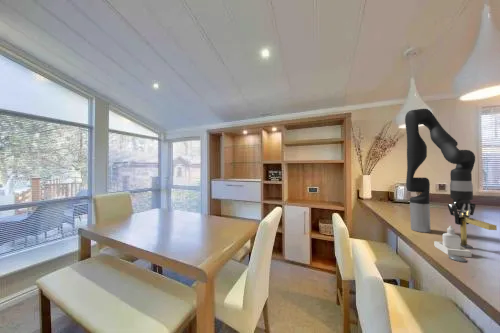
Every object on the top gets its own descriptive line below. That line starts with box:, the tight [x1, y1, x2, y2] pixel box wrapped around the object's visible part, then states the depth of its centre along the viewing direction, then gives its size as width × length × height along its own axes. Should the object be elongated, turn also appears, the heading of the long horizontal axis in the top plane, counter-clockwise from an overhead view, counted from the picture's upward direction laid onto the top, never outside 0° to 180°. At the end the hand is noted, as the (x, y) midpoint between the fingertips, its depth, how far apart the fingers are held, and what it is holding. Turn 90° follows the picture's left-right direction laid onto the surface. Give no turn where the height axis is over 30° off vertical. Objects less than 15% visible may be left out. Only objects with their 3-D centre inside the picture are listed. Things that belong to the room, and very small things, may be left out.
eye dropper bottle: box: [442, 225, 461, 250], centre depth 88 cm, size 4×6×12 cm
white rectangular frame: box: [433, 240, 472, 258], centre depth 87 cm, size 10×8×2 cm
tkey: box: [459, 215, 498, 245], centre depth 86 cm, size 18×2×14 cm, turn 164°
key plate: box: [460, 242, 474, 250], centre depth 92 cm, size 4×4×1 cm
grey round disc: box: [448, 255, 467, 263], centre depth 80 cm, size 5×5×1 cm
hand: (462, 223), depth 93 cm, fingers closed on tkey, 3 cm apart
